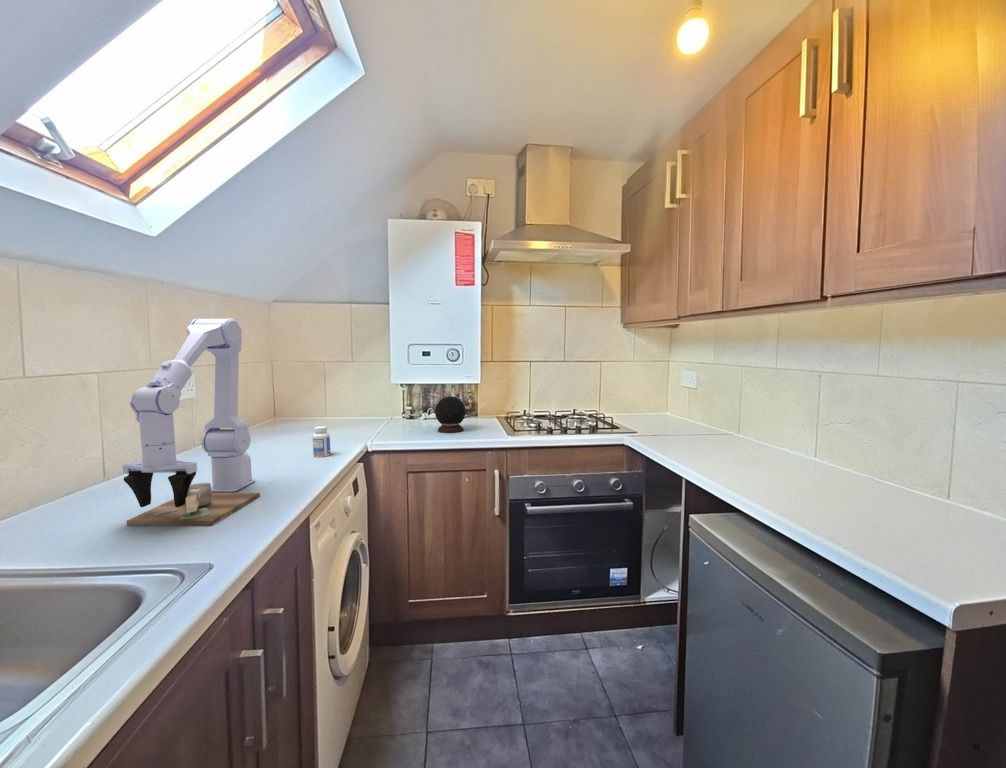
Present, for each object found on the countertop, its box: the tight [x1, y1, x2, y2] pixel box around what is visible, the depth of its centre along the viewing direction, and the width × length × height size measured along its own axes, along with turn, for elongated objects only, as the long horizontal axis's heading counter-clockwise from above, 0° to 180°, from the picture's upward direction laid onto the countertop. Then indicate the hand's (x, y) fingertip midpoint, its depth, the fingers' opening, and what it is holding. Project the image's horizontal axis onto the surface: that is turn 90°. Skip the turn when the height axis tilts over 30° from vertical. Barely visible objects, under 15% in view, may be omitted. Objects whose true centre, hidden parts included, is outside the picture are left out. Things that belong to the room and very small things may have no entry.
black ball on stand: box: [434, 396, 467, 434], centre depth 197 cm, size 13×13×15 cm
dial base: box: [126, 492, 261, 526], centre depth 104 cm, size 18×18×1 cm
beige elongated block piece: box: [185, 482, 212, 513], centre depth 100 cm, size 12×5×4 cm, turn 26°
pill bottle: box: [312, 425, 331, 458], centre depth 154 cm, size 6×5×10 cm
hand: (162, 505), depth 97 cm, fingers open, 7 cm apart
